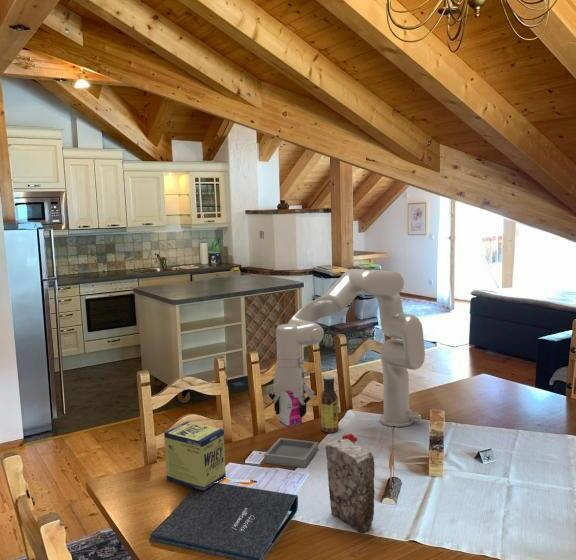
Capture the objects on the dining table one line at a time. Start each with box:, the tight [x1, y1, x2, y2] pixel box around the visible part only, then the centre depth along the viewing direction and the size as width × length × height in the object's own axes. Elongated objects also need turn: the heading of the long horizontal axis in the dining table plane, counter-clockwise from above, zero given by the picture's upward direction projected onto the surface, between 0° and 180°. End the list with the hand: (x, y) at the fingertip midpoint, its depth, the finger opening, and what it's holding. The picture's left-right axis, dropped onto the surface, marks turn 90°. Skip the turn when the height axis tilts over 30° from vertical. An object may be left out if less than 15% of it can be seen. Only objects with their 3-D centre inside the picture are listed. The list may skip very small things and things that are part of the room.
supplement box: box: [278, 391, 303, 428], centre depth 181 cm, size 6×6×12 cm
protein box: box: [163, 421, 227, 489], centre depth 169 cm, size 10×16×16 cm
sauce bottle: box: [320, 375, 339, 433], centre depth 203 cm, size 6×6×20 cm
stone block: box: [325, 439, 376, 534], centre depth 142 cm, size 13×7×20 cm, turn 39°
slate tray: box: [263, 437, 319, 469], centre depth 183 cm, size 14×14×3 cm
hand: (290, 414), depth 181 cm, fingers closed on supplement box, 8 cm apart
